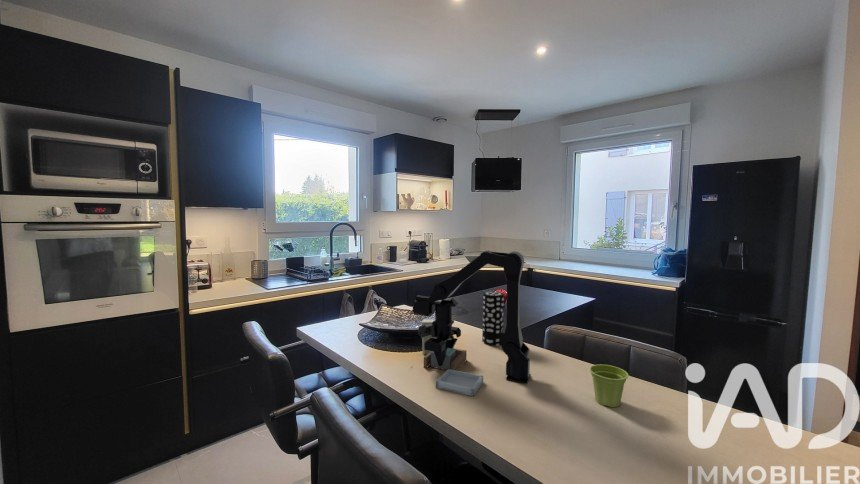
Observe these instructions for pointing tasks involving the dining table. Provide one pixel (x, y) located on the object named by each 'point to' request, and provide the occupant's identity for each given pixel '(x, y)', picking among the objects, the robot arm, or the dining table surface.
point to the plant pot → (608, 384)
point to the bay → (455, 363)
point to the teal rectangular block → (447, 360)
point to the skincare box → (424, 339)
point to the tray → (460, 382)
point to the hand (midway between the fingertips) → (443, 362)
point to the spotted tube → (492, 317)
